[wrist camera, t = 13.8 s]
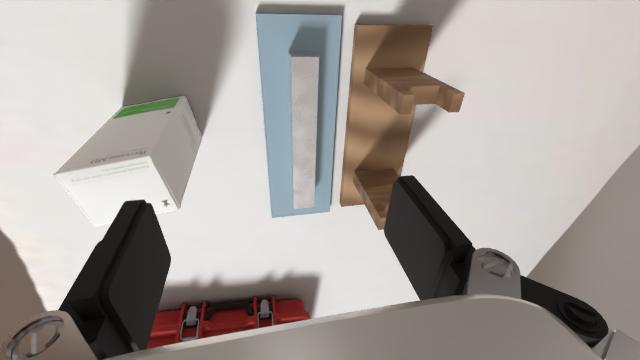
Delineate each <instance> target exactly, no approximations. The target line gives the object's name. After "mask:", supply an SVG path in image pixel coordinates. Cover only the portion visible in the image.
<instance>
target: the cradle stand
mask: <svg viewBox="0 0 640 360" xmlns="http://www.w3.org/2000/svg"><path fill="white" fill-rule="evenodd" d="M432 27H433V26H429V25H375V24H355V28H354V40H353V52H352V63H351V75H350V87H349V99H348V110H347V122H346V134H345V146H344V157H343V169H342V181H341V193H340V204H341V207H343V206H353V205H362V204H365V206H366V208H367V209H368V211H369V213H370V215H371V217H372V219H373V221H374V223H375V225H376V226H377V228H378V230H381V229H384V226H385V221H386V216H387V211H388V207H389V202H390V197H391V192H392V187H393V183H394V181H395V180H397V179H398V177H400V176H401V171H402V166H403V162H404V157H405V153H406V148H407V143H408V139H409V134H410V129H411V125H412V120H413V115H414V111H415V106H416V104H437V105H438V106H440V107H441V108H443V109H445V110H446V111H448V112H459V110H460V107H461V104H462V101H463V97H464V94H465V93H463V92H461V91H459V90H457V89H455V88H453V87H451V86H449V85H447V84H445V83H443V82H441V81H439V80H437V79H435V78H433V77H431V76H429V75H427V74H425V73H423V69H424V65H425V60H426V55H427V51H428V46H429V41H430V37H431V32H432Z"/></svg>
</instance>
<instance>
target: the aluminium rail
mask: <svg viewBox="0 0 640 360" xmlns="http://www.w3.org/2000/svg"><path fill="white" fill-rule="evenodd" d="M288 66H289V112H290V159H291V198H292V203H293V208H294V209H299V208H310V207H314V197H315V166H316V136H317V105H318V75H319V56H318V55H317V54H316V53H315V52H288Z"/></svg>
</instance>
